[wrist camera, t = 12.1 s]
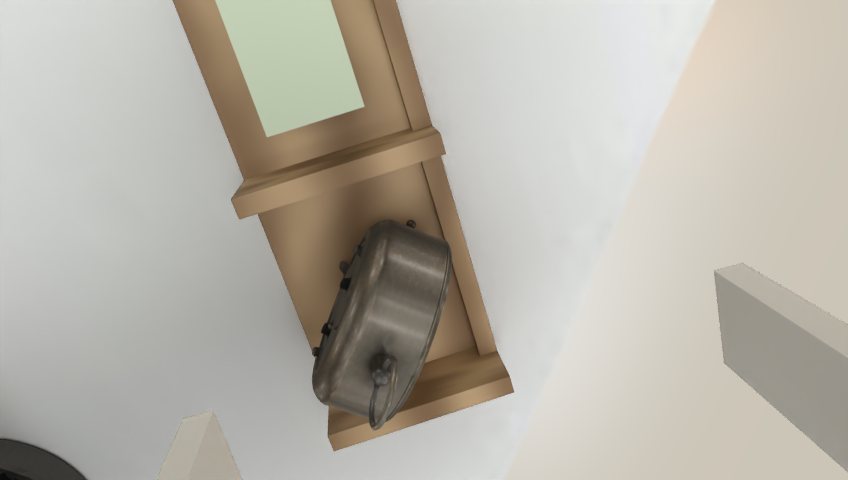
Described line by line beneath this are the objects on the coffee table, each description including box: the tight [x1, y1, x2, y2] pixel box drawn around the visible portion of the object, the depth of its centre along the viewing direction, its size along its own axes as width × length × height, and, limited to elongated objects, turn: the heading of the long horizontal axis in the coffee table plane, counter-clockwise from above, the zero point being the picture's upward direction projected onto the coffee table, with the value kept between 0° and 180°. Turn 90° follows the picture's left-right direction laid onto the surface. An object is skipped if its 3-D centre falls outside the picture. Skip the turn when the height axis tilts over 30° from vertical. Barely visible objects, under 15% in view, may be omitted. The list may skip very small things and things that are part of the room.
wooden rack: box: [173, 0, 514, 451], centre depth 38 cm, size 12×33×6 cm, turn 17°
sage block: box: [215, 0, 365, 137], centre depth 34 cm, size 5×9×8 cm, turn 17°
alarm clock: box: [312, 220, 452, 431], centre depth 35 cm, size 11×5×16 cm, turn 157°
